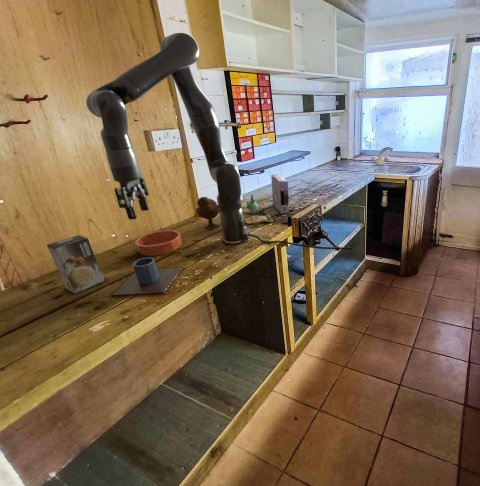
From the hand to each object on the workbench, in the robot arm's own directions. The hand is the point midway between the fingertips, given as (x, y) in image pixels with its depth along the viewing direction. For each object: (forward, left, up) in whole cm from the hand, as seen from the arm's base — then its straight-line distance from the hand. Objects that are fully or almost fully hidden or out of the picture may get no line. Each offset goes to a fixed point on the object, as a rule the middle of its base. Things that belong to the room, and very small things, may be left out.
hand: (139, 214), depth 101 cm
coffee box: (+20, +6, -22) cm, 31 cm away
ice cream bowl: (-8, -44, -22) cm, 50 cm away
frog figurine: (-29, -48, -22) cm, 60 cm away
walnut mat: (-1, +6, -22) cm, 23 cm away
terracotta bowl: (+7, -22, -22) cm, 32 cm away
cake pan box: (-40, -67, -22) cm, 81 cm away
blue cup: (0, +6, -21) cm, 22 cm away
